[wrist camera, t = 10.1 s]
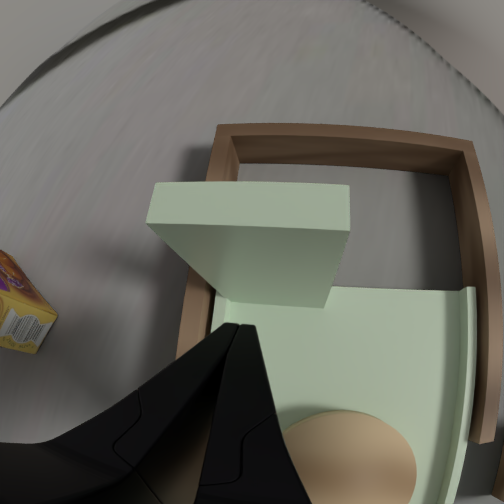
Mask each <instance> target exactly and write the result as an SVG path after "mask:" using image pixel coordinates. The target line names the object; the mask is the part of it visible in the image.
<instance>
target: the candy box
mask: <svg viewBox="0 0 504 504" xmlns="http://www.w3.org/2000/svg"><path fill="white" fill-rule="evenodd" d="M57 316H58V315H57V313H56V312H55V311H54V310H53V308H52V307H51V306H50V305H49V304H48V303H47V302H46V301H45V299H44V298H43V297H42V296H41V295H40V293H39V292H38V291H37V290H36V288H35V287H34V286H33V284H32V283H31V282H30V280H29V279H28V278H27V277H26V275H25V274H24V272H23V271H22V270H21V268H20V267H19V266H18V264H17V263H16V261H15V260H14V258H13V256H11V255H9V254H7V253H6V252H4V251H2V250H0V347H4V348H9V349H13V350H18V351H22V352H26V353H32V354H36V353H37V351H38V349H39V347H40V345H41V344H42V342H43V340H44V338H45V337H46V335H47V333H48V331H49V330H50V328H51V326H52V324H53V323H54V321H55V319H56V318H57Z"/></svg>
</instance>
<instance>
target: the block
mask: <svg viewBox="0 0 504 504" xmlns="http://www.w3.org/2000/svg"><path fill="white" fill-rule="evenodd" d="M491 495H492V496H494V497H496V498H498V499H499V500H501V501H503V502H504V444H503V449H502V454H501V459H500V463H499V468H498V472H497V476H496V480H495V484H494V487H493V491H492V494H491Z"/></svg>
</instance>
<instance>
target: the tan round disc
mask: <svg viewBox="0 0 504 504" xmlns="http://www.w3.org/2000/svg"><path fill="white" fill-rule="evenodd" d="M282 434H283V437H284V440H285V444H286V446H287V449H288V451H289V454H290V456H291V459H292V461H293V463H294V466H295V468H296V470H297V472H298V474H299V476H300V479H301V481H302V483H303V485H304V487H305V489H306V491H307V494H308V496H309V498H310V500H311V502H312V504H408V503H409V502H410V500H411V497H412V495H413V492H414V489H415V485H416V478H417V466H416V461H415V457H414V454H413V451H412V449H411V447H410V445H409V444H408V442H407V441H406V439H405V438H404V437H403V436H402V435H401V434H400V433H399V432H398V431H397V430H396V429H394V428H393V427H391V426H390V425H388V424H387V423H385V422H383V421H382V420H380V419H378V418H376V417H374V416H372V415H369V414H366V413H363V412H358V411H352V410H332V411H326V412H321V413H317V414H314V415H311V416H308V417H306V418H303V419H301V420H299V421H298V422H296V423H294V424H292V425H291V426H289V427H288V428H286V429H285V430H284V431H283V432H282Z"/></svg>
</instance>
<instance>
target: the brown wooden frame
mask: <svg viewBox="0 0 504 504" xmlns="http://www.w3.org/2000/svg"><path fill="white" fill-rule="evenodd" d="M239 163H282V164H315V165H336V166H353V167H367V168H380V169H391V170H402V171H412V172H421V173H430V174H438V175H446V176H448V177H449V182H450V187H451V192H452V197H453V203H454V209H455V215H456V222H457V229H458V236H459V245H460V254H461V264H462V277H463V289H464V288H465V287H475V288H476V309H477V354H476V374H475V388H474V398H473V407H472V416H471V423H470V430H469V436H468V440H469V441H472V442H475V443H477V444H483V443H488V442H492V441H494V437H495V431H496V424H497V417H498V409H499V400H500V390H501V377H502V357H503V317H502V296H501V283H500V272H499V263H498V255H497V248H496V241H495V235H494V229H493V223H492V218H491V212H490V208H489V203H488V198H487V194H486V189H485V185H484V181H483V177H482V173H481V170H480V166H479V162H478V159H477V155H476V152H475V149H474V146H473V142H472V141H469V140H463V139H458V138H452V137H446V136H440V135H433V134H426V133H419V132H411V131H403V130H394V129H385V128H374V127H362V126H348V125H331V124H304V123H246V124H219V125H217V130H216V134H215V138H214V143H213V147H212V152H211V157H210V161H209V166H208V171H207V175H206V180H205V182H219V181H233V182H237V176H238V170H239ZM215 297H216V289H215V288H214V287H212V286H211V285H210V284H209V283H208V282H207V281H206V280H205V279H204V278H203V277H202V276H201V275H199V274H198V273H197V272H196V271H195V270H194V269H193V268H192V267H191V266H189V272H188V278H187V284H186V290H185V296H184V303H183V310H182V316H181V323H180V330H179V337H178V345H177V352H176V359H178V358H179V357H180V356H182V355H183V354H184V353H186V352H187V351H188V350H190V349H191V348H192V347H194V346H195V345H196V344H197V343H199V342H200V341H201V340H203V339H204V338H205V337H206V336H208V335H209V334H210V333H211V327H212V319H213V312H214V304H215Z"/></svg>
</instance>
